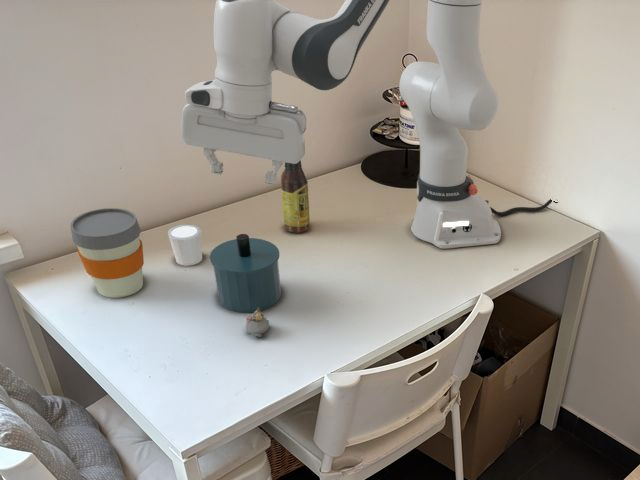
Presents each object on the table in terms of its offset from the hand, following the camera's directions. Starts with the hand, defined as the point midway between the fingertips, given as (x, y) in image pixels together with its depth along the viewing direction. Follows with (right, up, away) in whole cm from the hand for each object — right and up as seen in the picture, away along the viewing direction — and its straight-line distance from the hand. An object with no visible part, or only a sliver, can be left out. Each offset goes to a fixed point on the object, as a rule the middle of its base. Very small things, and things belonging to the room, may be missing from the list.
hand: (244, 178), depth 123 cm
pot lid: (-6, -11, +21) cm, 24 cm away
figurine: (-2, -26, +17) cm, 31 cm away
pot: (-6, -18, +26) cm, 33 cm away
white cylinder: (-23, -10, +36) cm, 44 cm away
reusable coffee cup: (-34, -17, +26) cm, 46 cm away
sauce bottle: (-2, 0, +51) cm, 51 cm away
